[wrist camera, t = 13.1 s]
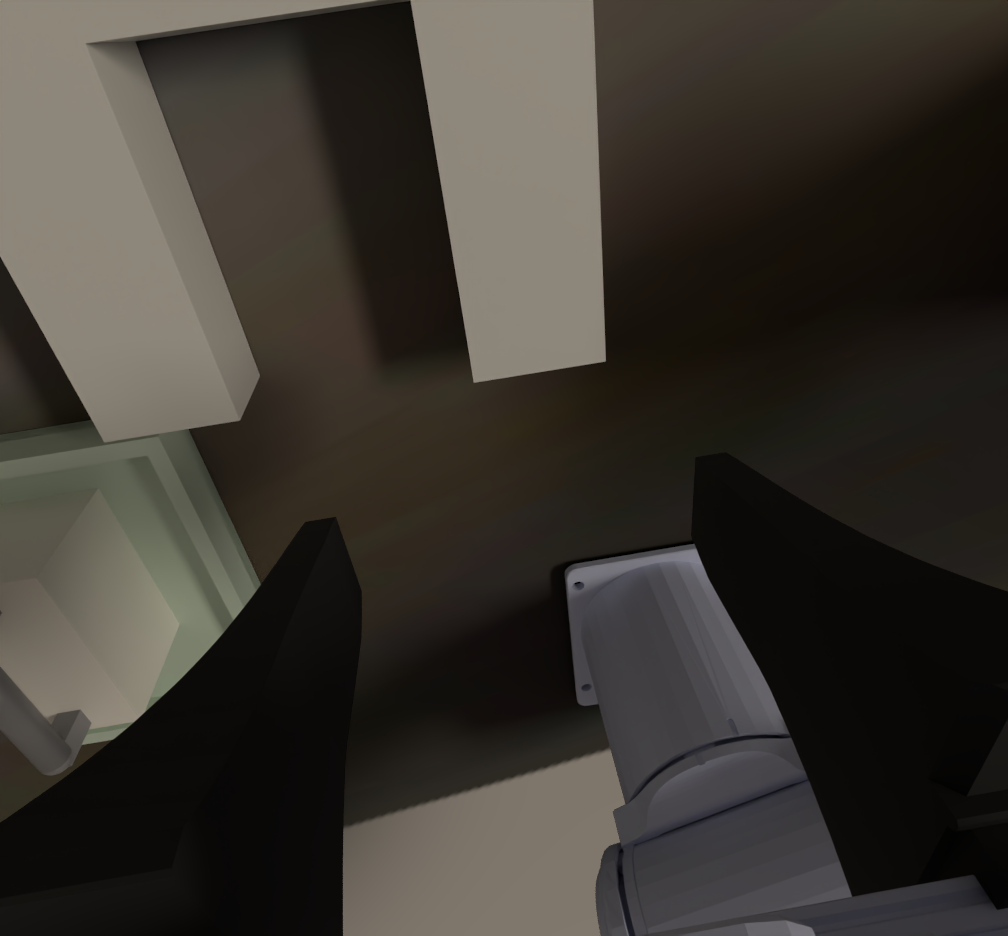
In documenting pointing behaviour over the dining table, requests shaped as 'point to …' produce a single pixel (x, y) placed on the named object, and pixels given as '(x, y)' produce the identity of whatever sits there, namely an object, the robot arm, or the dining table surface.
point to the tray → (147, 525)
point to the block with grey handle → (74, 626)
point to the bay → (181, 233)
